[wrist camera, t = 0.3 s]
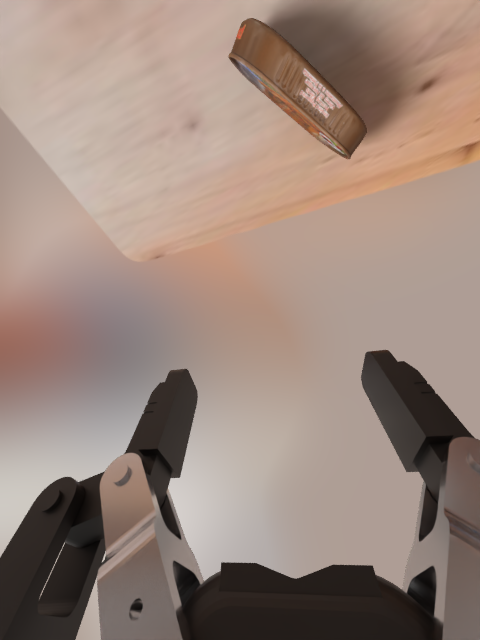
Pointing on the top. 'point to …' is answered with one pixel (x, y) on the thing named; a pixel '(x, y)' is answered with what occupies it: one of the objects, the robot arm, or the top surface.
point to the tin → (296, 87)
